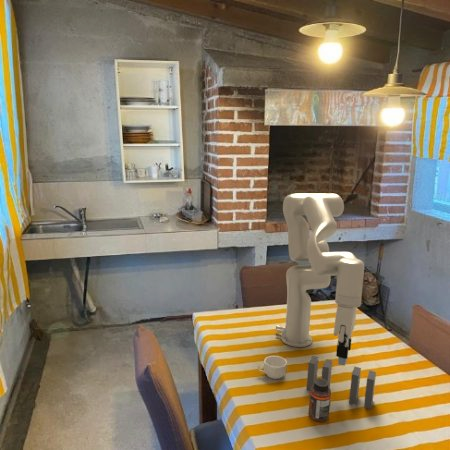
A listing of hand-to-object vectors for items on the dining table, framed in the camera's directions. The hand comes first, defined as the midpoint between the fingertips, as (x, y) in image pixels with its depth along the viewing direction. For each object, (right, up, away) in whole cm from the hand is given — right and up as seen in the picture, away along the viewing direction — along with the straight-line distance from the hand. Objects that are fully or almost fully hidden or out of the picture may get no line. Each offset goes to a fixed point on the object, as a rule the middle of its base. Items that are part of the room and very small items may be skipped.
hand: (343, 352), depth 127 cm
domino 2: (-4, -14, +5) cm, 16 cm away
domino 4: (+4, -15, +1) cm, 16 cm away
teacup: (-21, -12, +13) cm, 28 cm away
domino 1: (-8, -14, +7) cm, 18 cm away
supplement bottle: (-9, -17, -7) cm, 20 cm away
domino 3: (0, -3, +1) cm, 3 cm away
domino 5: (+8, -16, -1) cm, 18 cm away
